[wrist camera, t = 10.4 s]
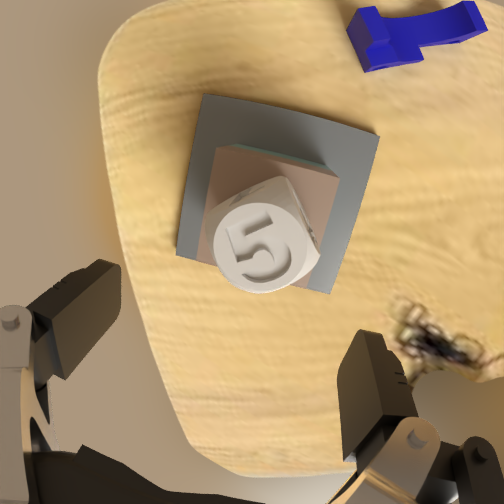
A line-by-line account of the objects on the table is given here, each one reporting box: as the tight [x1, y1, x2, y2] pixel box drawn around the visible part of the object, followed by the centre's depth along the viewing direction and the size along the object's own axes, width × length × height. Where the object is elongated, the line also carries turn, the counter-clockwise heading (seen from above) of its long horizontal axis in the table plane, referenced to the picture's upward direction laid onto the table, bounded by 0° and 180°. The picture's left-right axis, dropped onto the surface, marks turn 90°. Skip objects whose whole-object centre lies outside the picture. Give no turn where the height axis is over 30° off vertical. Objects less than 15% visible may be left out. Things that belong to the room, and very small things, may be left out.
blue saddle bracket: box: [346, 1, 488, 73], centre depth 18 cm, size 12×4×6 cm, turn 111°
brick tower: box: [176, 94, 380, 294], centre depth 24 cm, size 16×16×9 cm
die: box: [205, 176, 321, 293], centre depth 18 cm, size 5×5×5 cm
